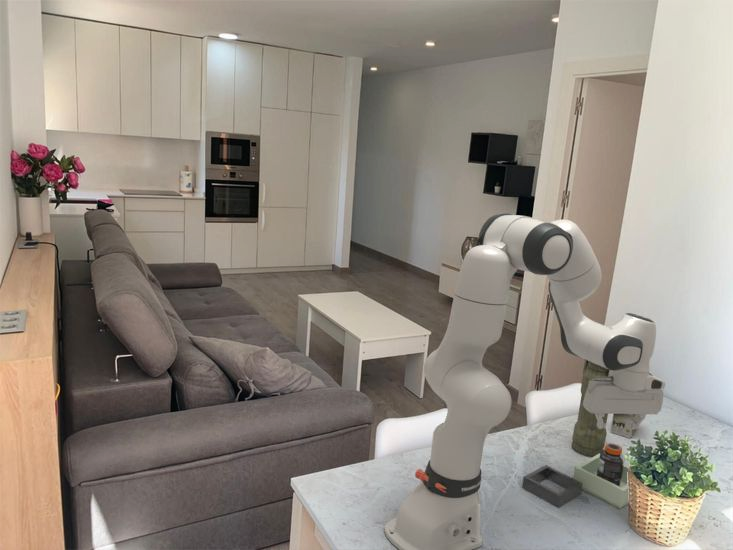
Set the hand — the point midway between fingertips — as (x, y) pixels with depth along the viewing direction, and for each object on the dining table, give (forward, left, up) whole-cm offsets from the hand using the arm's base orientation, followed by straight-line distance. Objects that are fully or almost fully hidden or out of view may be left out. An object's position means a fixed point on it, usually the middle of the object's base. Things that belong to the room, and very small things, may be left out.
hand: (617, 428), depth 147 cm
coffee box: (+38, +14, -17) cm, 44 cm away
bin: (0, 0, -17) cm, 17 cm away
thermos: (+15, +14, -17) cm, 27 cm away
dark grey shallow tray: (-14, +8, -17) cm, 23 cm away
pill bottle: (0, 0, -17) cm, 17 cm away
